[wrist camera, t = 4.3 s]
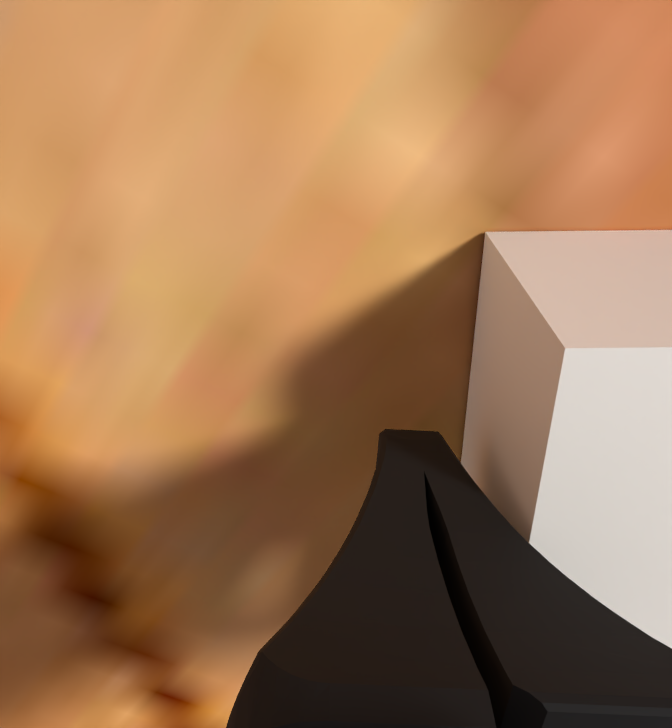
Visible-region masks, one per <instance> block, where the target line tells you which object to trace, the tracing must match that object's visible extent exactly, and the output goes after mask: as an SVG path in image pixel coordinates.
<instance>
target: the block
mask: <svg viewBox="0 0 672 728" xmlns="http://www.w3.org/2000/svg"><path fill="white" fill-rule="evenodd" d="M461 464H462V466H463V467H464V468H465V470H466V471H467V472H468V474H469V475H470V476H471V478H472V479H473V480H474V482H475V483H476V484H477V485H478V487H479V488H480V489H481V490H482V492H483V493H484V494H485V495H486V496H487V498H488V499H489V500H490V501H491V503H492V504H493V505H494V506H495V507H496V508H497V510H498V511H499V512H500V513H501V514H502V515H503V516H504V518H505V519H506V520H507V521H508V522H509V523H510V524H511V525H512V526H513V527H514V529H515V530H516V531H517V532H518V533H519V534H520V535H521V536H522V537H523V538H524V539H525V540H526V541H527V542H528V543H529V544H531V545H532V546H533V547H534V548H535V549H536V550H537V551H538V552H539V553H540V554H541V555H542V556H544V557H545V558H546V559H547V560H548V561H549V562H550V563H551V564H552V565H554V566H555V567H556V568H557V569H558V570H559V571H561V572H562V573H563V574H564V575H565V576H567V577H568V578H569V579H571V580H572V581H573V582H574V583H576V584H577V585H578V586H579V587H581V588H582V589H583V590H585V591H586V592H587V593H588V594H590V595H591V596H592V597H594V598H595V599H596V600H598V601H599V602H601V603H602V604H603V605H605V606H606V607H607V608H609V609H610V610H612V611H613V612H615V613H616V614H618V615H619V616H621V617H622V618H624V619H625V620H627V621H628V622H630V623H631V624H633V625H634V626H636V627H637V628H639V629H640V630H642V631H643V632H645V633H646V634H648V635H649V636H651V637H653V638H654V639H656V640H658V641H659V642H661V643H663V644H665V645H666V646H668V647H670V648H672V230H618V231H527V232H485V239H484V248H483V258H482V267H481V277H480V286H479V296H478V305H477V315H476V324H475V334H474V343H473V353H472V362H471V372H470V381H469V391H468V400H467V410H466V419H465V429H464V438H463V448H462V457H461Z"/></svg>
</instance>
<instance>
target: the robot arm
mask: <svg viewBox="0 0 672 728" xmlns="http://www.w3.org/2000/svg"><path fill="white" fill-rule="evenodd" d="M226 728H672V648H670V647H668V646H666V645H665V644H663V643H661V642H659V641H658V640H656V639H654V638H653V637H651V636H649V635H648V634H646V633H645V632H643V631H642V630H640V629H639V628H637V627H636V626H634V625H633V624H631V623H630V622H628V621H627V620H625V619H624V618H622V617H621V616H619V615H618V614H616V613H615V612H613V611H612V610H610V609H609V608H607V607H606V606H605V605H603V604H602V603H601V602H599V601H598V600H596V599H595V598H594V597H592V596H591V595H590V594H588V593H587V592H586V591H585V590H583V589H582V588H581V587H579V586H578V585H577V584H576V583H574V582H573V581H572V580H571V579H569V578H568V577H567V576H565V575H564V574H563V573H562V572H561V571H559V570H558V569H557V568H556V567H555V566H554V565H552V564H551V563H550V562H549V561H548V560H547V559H546V558H545V557H544V556H542V555H541V554H540V553H539V552H538V551H537V550H536V549H535V548H534V547H533V546H532V545H531V544H529V543H528V542H527V541H526V540H525V539H524V538H523V537H522V536H521V535H520V534H519V533H518V532H517V531H516V530H515V529H514V527H513V526H512V525H511V524H510V523H509V522H508V521H507V520H506V519H505V518H504V516H503V515H502V514H501V513H500V512H499V511H498V510H497V508H496V507H495V506H494V505H493V504H492V503H491V501H490V500H489V499H488V498H487V496H486V495H485V494H484V493H483V492H482V490H481V489H480V488H479V487H478V485H477V484H476V483H475V482H474V480H473V479H472V478H471V476H470V475H469V474H468V472H467V471H466V470H465V468H464V467H463V466H462V464H461V463H460V461H459V460H458V459H457V457H456V456H455V454H454V453H453V452H452V450H451V449H450V447H449V446H448V444H447V443H446V441H445V440H444V438H443V437H442V436H441V435H440V433H439V432H434V431H413V430H393V429H385V430H384V431H382V432H381V433H380V434H379V443H378V453H377V462H376V470H375V473H374V476H373V479H372V482H371V485H370V488H369V491H368V494H367V496H366V499H365V501H364V503H363V505H362V508H361V510H360V512H359V515H358V517H357V519H356V521H355V523H354V525H353V527H352V529H351V531H350V533H349V535H348V537H347V538H346V540H345V542H344V544H343V546H342V547H341V549H340V551H339V552H338V554H337V556H336V557H335V559H334V560H333V562H332V563H331V565H330V566H329V568H328V570H327V571H326V573H325V574H324V576H323V577H322V578H321V580H320V581H319V583H318V584H317V585H316V587H315V588H314V589H313V591H312V592H311V593H310V594H309V596H308V597H307V598H306V599H305V601H304V602H303V603H302V604H301V606H300V607H299V608H298V609H297V611H296V612H295V613H294V614H293V615H292V617H291V618H290V619H289V620H288V621H287V622H286V623H285V624H284V625H283V626H282V628H281V629H280V630H279V631H278V632H277V633H276V634H275V635H274V636H273V637H272V638H271V639H270V640H269V641H268V642H267V643H266V644H265V645H264V646H263V647H262V648H261V649H260V650H259V652H258V654H257V656H256V658H255V660H254V662H253V664H252V666H251V668H250V670H249V672H248V674H247V676H246V678H245V680H244V682H243V685H242V687H241V689H240V691H239V693H238V696H237V698H236V701H235V703H234V706H233V708H232V711H231V714H230V717H229V720H228V723H227V727H226Z"/></svg>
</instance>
